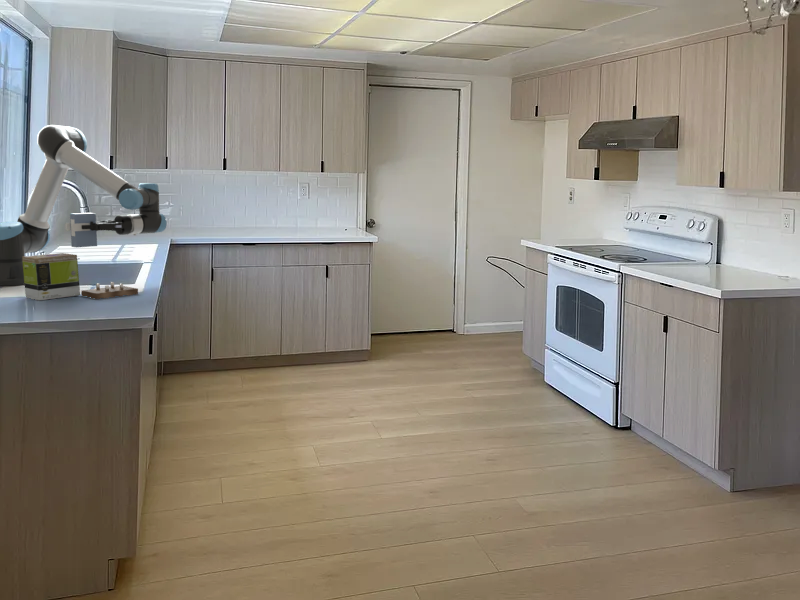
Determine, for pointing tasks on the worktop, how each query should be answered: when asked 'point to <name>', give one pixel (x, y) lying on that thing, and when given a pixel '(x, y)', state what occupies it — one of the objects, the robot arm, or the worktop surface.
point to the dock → (109, 292)
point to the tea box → (51, 276)
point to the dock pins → (108, 286)
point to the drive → (83, 236)
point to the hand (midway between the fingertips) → (69, 227)
